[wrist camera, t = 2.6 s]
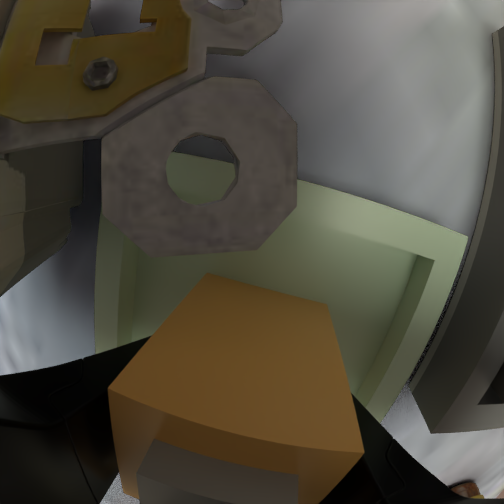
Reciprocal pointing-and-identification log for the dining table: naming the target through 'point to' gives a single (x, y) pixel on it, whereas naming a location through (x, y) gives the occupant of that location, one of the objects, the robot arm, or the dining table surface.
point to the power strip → (472, 311)
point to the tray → (298, 275)
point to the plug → (236, 402)
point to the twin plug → (499, 383)
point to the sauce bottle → (468, 490)
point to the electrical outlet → (135, 128)
